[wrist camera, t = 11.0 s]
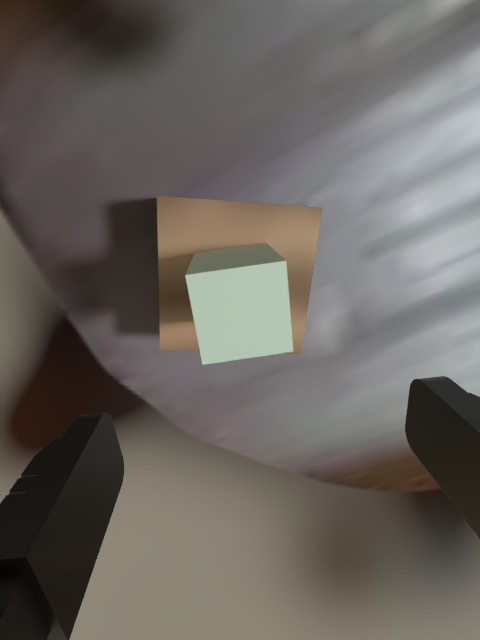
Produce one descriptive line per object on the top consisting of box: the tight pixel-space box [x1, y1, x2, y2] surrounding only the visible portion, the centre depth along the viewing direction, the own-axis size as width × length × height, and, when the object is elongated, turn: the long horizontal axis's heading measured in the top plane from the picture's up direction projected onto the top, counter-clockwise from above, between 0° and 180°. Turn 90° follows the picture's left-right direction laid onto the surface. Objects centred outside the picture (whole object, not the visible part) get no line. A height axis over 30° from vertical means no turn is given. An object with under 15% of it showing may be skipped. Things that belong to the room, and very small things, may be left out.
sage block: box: [185, 243, 293, 365], centre depth 20 cm, size 5×5×7 cm
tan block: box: [157, 196, 322, 354], centre depth 25 cm, size 11×11×5 cm
